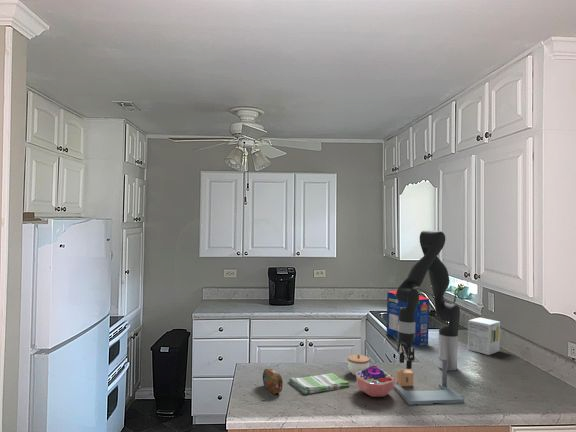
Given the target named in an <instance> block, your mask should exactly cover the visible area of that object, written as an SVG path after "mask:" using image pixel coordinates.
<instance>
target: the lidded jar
mask: <svg viewBox="0 0 576 432" xmlns="http://www.w3.org/2000/svg"><path fill="white" fill-rule="evenodd" d="M347 367H348V369H349V371H350V372H351V374H352V375H353V376H356V374H355V373H356V371H357V370H359V369H365V368H369V367H370V358H369V357H368V356H367V355H364V354H350V355H348V356H347Z"/></svg>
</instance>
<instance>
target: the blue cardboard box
mask: <svg viewBox="0 0 576 432" xmlns="http://www.w3.org/2000/svg"><path fill="white" fill-rule="evenodd" d="M396 292H397V290H394V291H393V290H392V291H387V293H386V295H387V297H386V300H387V301H386V336H389V337H391V338H392V337H393V338H395V339H397V340H398V324H399V310H400V309H401V308H404V307H407V304H408V303H405V302H400V301H399V300H398V299H397V297H396ZM429 317H430V298H427V297H423V296H420V295H419V301H418V304H417V308H416V311H415V341H414V342H412V343H411V345H414V346H417V347H421V346H426V345H429V328H430V326H429V321H430V320H429V319H430V318H429Z"/></svg>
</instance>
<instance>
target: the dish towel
mask: <svg viewBox="0 0 576 432" xmlns="http://www.w3.org/2000/svg"><path fill="white" fill-rule="evenodd" d="M288 382H289V384H291V385H292V386H294V387H295V388H296V389H297V390H299V391H300V392H301V393H303V394H304V395H310V394H316V393H323V392H329V391H334V390H341V389H346V388H350V385H349V384H350V383H349V381H347V380H344V379H342V378H340V377H339V376H337V375H336V374H335V373H334V372H330V373H324V374H318V375H312V376H310V375H309V376H303V377H293V376H292V377H290V378H289V379H288Z"/></svg>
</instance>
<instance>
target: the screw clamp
mask: <svg viewBox="0 0 576 432" xmlns="http://www.w3.org/2000/svg"><path fill="white" fill-rule="evenodd" d="M439 359H440V360H441V361H443V365H442V371H441V372H442V375H441V380H442V381H441V383H440V382H438V388H440V389H441V390H415V391H414V390H412V391H409V390H408V391H406V390H405V389H404V388H403V386H400V385H399V384H398V383H397V384H394V388H393V389H394V390H395V391H396V392H397V394H399V396H401V398H402V399H403V400H404V401H405V402H406V403H407V404H408V405H411V406H413V404H414V406H415V404H418V405H434V404H433V403H446V404H458V403H457V402H464V403H465V399H464V398H463V397H462V396H461V395H459V394H458V393H457V392H456V391H454V390H453V389H452V388H451V387H449V386H448V380H447V379H448V370H447V359H443V358H441V357H439Z"/></svg>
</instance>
